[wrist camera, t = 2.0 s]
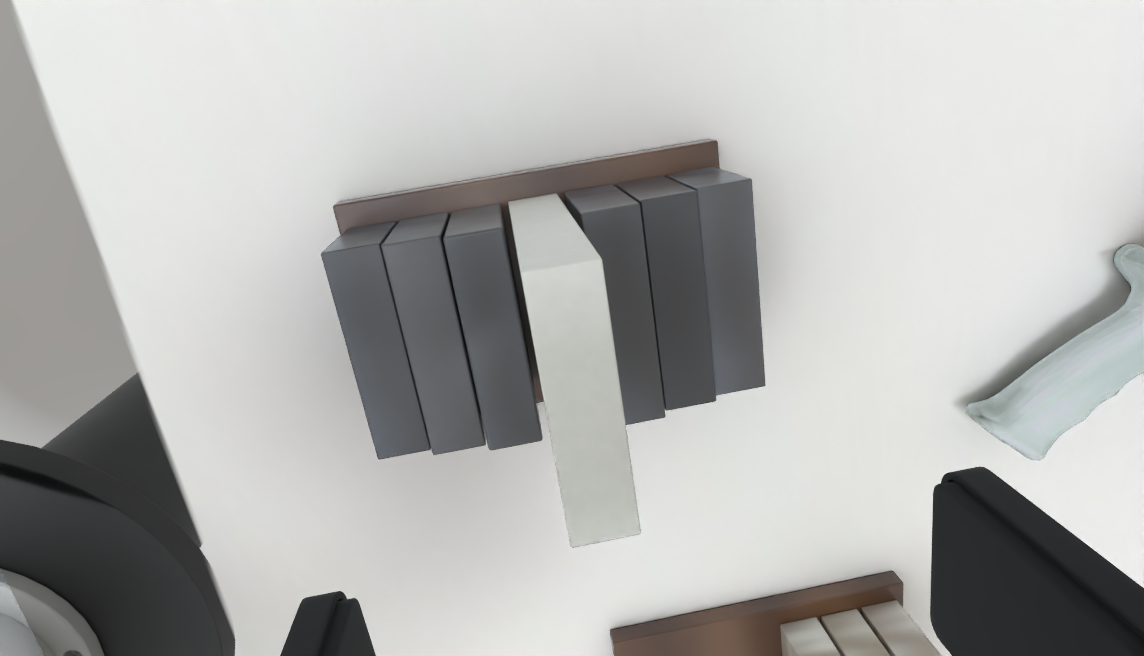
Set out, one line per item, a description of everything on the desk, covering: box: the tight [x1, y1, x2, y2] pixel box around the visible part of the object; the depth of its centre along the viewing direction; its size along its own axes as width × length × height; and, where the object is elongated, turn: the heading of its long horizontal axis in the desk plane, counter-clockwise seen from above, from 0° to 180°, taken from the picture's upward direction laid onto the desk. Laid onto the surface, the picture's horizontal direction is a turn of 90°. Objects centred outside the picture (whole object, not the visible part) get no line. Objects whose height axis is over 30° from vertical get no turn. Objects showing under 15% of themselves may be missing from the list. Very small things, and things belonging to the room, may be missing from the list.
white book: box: [508, 193, 641, 548], centre depth 24 cm, size 2×8×12 cm, turn 9°
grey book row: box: [321, 139, 765, 459], centre depth 27 cm, size 16×10×6 cm, turn 99°
